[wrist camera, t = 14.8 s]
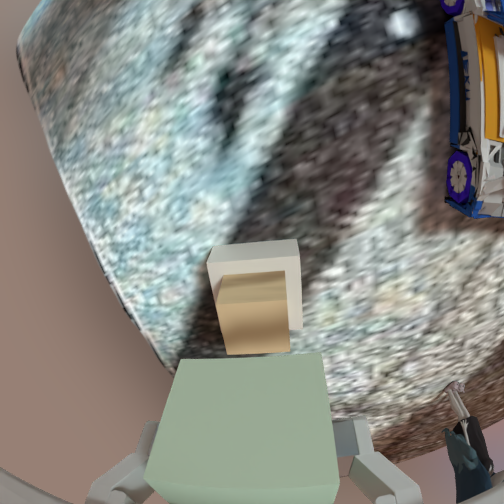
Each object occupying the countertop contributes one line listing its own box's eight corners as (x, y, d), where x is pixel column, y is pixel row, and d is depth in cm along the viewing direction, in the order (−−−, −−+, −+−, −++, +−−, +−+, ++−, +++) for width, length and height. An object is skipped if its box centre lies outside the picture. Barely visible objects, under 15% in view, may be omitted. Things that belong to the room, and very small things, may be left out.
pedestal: (213, 246, 34) (206, 263, 30) (296, 238, 33) (299, 255, 29) (226, 312, 37) (221, 333, 34) (300, 307, 36) (302, 329, 33)
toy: (485, 376, 42) (540, 497, 15) (449, 410, 47) (488, 529, 20) (452, 362, 40) (514, 513, 13) (410, 401, 45) (449, 546, 18)
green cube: (180, 359, 11) (142, 478, 6) (321, 352, 10) (339, 483, 6) (209, 431, 13) (193, 524, 8) (318, 428, 12) (325, 525, 8)
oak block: (223, 274, 30) (215, 304, 26) (284, 270, 30) (286, 299, 25) (232, 322, 33) (227, 354, 28) (288, 319, 32) (290, 351, 28)
